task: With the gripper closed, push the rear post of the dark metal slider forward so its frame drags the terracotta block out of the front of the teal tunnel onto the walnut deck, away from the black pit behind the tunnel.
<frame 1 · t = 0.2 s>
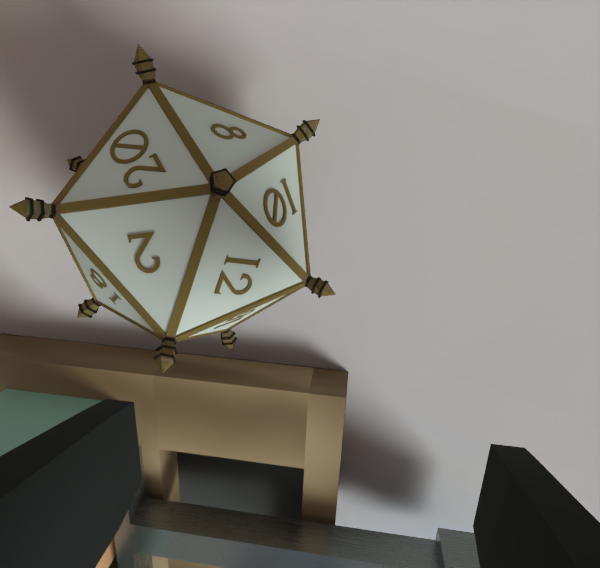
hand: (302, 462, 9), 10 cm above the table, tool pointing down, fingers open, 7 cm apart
game die: (230, 201, 18), on the table
deck: (101, 463, 23), on the table
tunnel: (27, 559, 18), on the deck, point 6 cm above the table
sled: (212, 563, 18), point 4 cm above the table, slide at 0.0 cm
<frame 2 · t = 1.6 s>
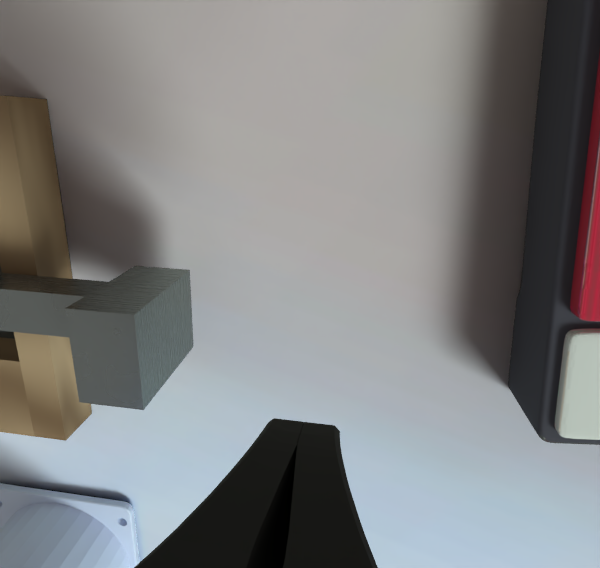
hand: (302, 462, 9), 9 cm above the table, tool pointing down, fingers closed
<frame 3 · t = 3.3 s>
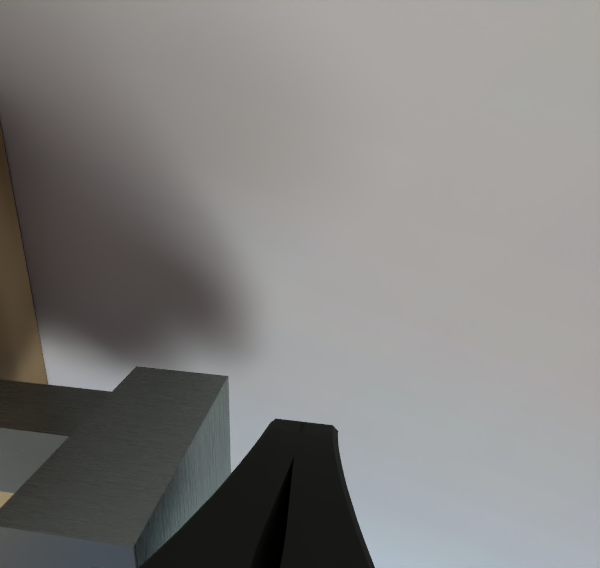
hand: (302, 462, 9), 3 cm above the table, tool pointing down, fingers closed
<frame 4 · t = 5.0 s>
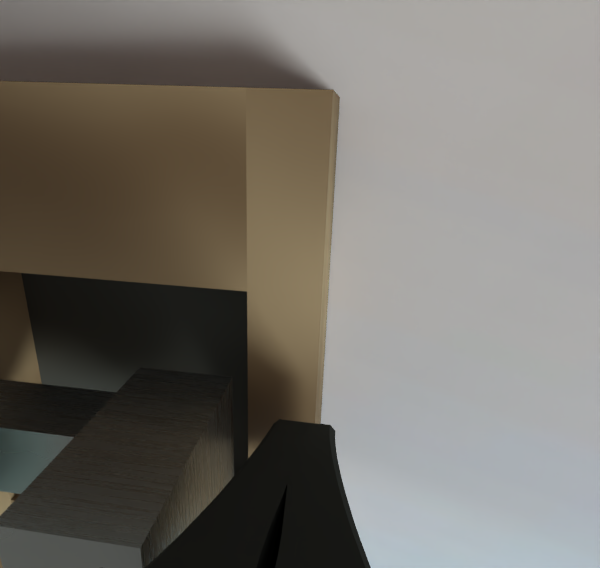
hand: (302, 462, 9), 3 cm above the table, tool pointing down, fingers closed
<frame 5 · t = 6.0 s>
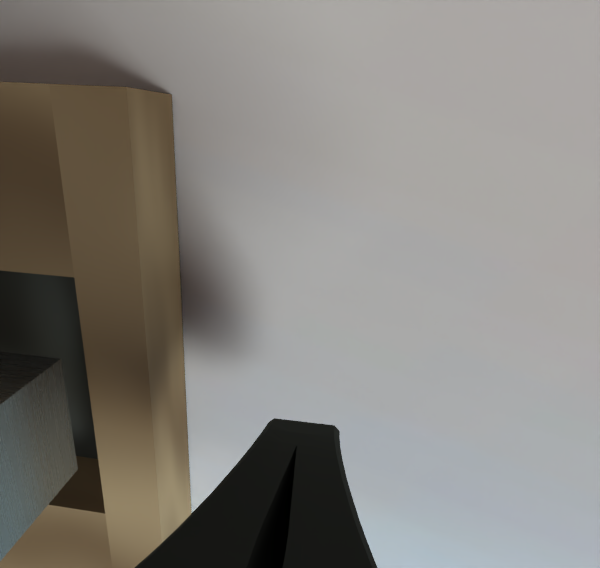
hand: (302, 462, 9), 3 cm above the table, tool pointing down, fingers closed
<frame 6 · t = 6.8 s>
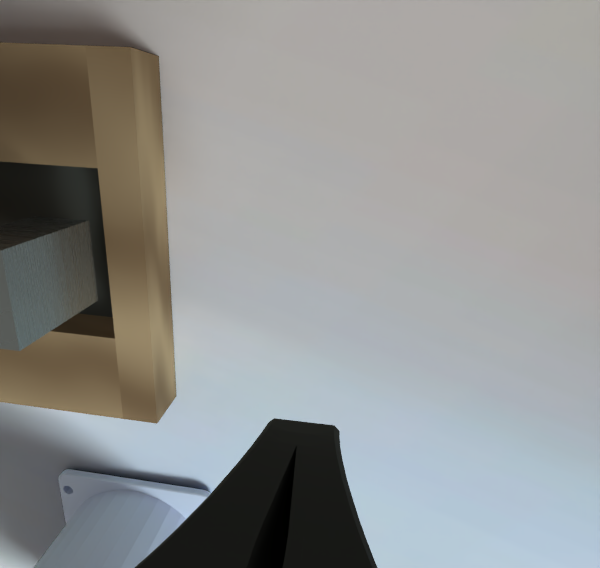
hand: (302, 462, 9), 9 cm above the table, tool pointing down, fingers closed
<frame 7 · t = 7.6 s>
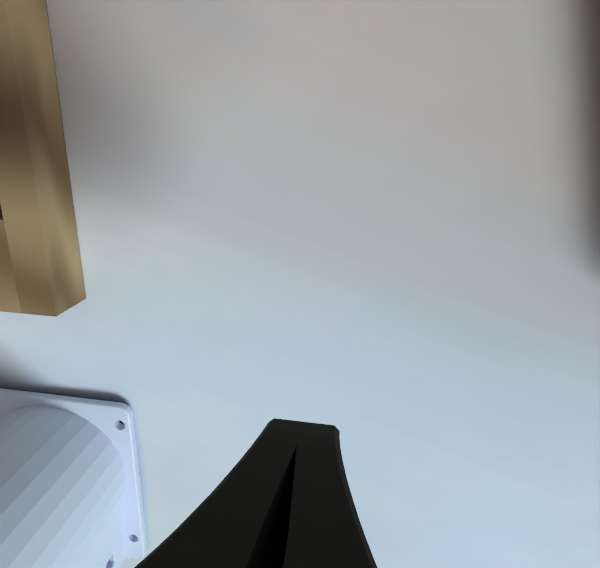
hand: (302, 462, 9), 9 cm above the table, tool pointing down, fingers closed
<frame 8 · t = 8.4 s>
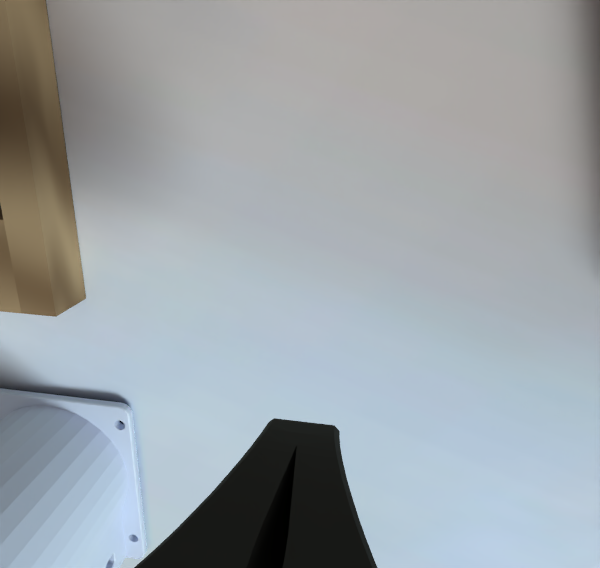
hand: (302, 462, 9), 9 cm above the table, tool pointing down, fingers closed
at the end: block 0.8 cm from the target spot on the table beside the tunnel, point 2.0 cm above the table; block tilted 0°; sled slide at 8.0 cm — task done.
